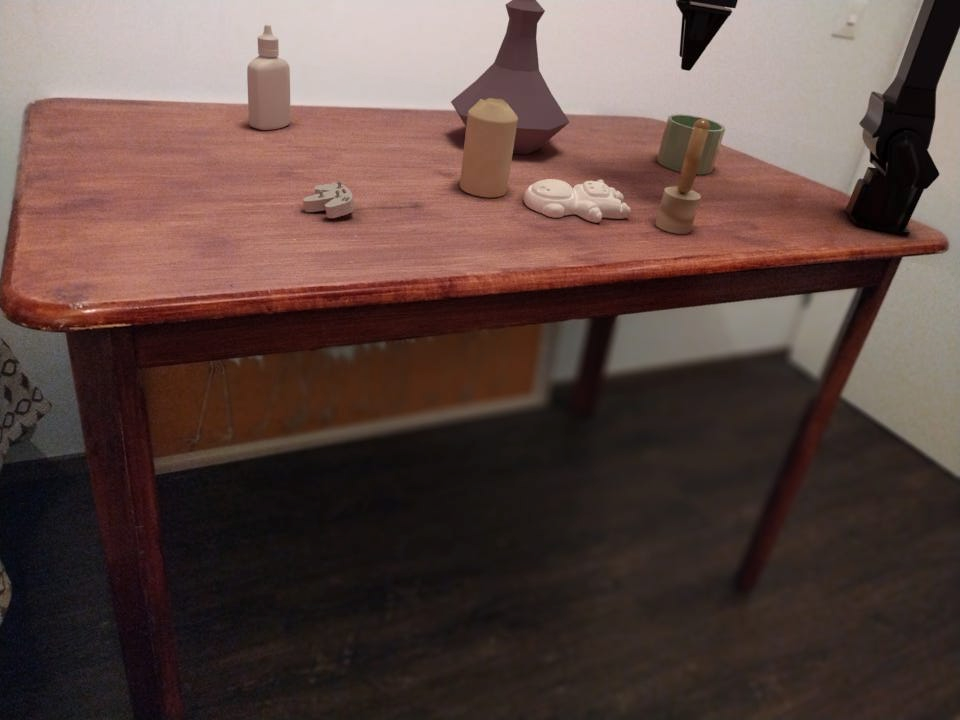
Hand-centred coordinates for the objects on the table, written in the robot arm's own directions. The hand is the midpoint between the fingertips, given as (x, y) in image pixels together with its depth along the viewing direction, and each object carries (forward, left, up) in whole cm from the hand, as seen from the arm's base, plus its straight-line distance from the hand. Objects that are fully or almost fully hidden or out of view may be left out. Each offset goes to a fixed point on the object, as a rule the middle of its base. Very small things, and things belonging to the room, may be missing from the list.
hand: (684, 63), depth 88 cm
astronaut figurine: (+9, +16, -15) cm, 23 cm away
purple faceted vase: (+21, -4, -15) cm, 26 cm away
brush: (-2, +16, -15) cm, 22 cm away
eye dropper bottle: (+50, +8, -15) cm, 52 cm away
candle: (+20, +16, -15) cm, 29 cm away
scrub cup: (-4, -10, -15) cm, 18 cm away
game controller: (+30, +29, -15) cm, 44 cm away
